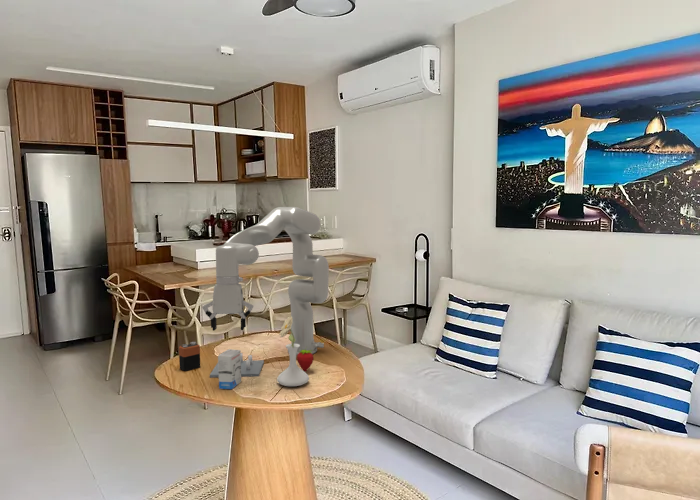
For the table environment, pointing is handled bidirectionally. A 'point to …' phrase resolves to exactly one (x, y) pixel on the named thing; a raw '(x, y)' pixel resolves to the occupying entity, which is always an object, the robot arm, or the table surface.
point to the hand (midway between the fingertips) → (228, 329)
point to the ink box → (229, 369)
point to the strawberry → (305, 359)
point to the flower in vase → (291, 361)
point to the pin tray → (244, 367)
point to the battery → (189, 356)
